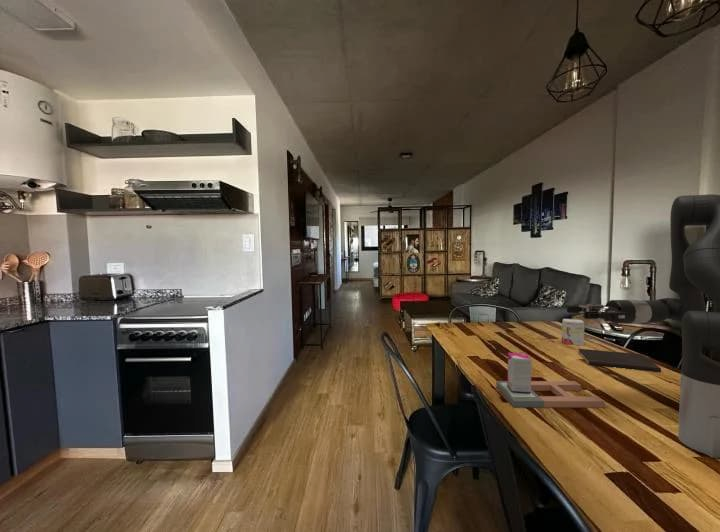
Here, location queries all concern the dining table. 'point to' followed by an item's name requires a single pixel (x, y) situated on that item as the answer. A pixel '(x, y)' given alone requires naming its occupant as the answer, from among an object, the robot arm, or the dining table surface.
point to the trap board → (550, 401)
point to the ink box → (573, 332)
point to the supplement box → (519, 373)
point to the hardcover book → (618, 360)
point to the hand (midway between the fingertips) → (575, 312)
